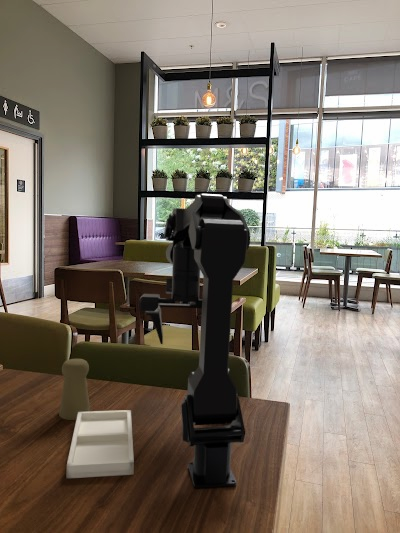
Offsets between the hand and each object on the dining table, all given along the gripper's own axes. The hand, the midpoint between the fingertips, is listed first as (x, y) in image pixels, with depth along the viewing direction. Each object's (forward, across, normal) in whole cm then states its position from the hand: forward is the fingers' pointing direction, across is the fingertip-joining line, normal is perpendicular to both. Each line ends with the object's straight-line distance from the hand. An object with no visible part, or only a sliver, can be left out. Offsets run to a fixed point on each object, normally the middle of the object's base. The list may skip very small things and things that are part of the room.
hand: (183, 344), depth 93 cm
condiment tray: (+14, +14, +16) cm, 25 cm away
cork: (+14, +22, +4) cm, 26 cm away
